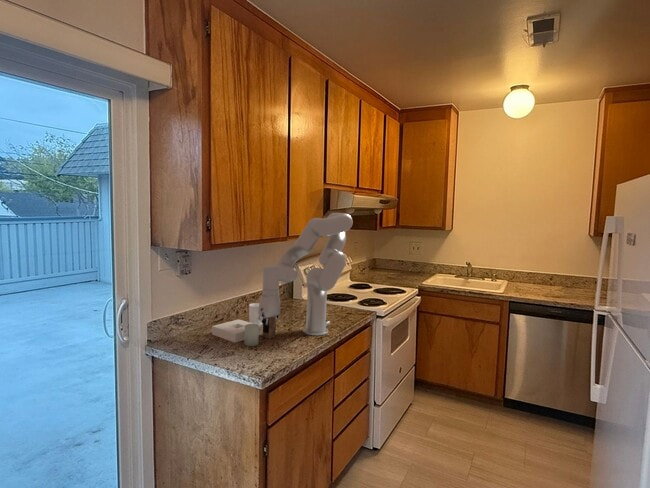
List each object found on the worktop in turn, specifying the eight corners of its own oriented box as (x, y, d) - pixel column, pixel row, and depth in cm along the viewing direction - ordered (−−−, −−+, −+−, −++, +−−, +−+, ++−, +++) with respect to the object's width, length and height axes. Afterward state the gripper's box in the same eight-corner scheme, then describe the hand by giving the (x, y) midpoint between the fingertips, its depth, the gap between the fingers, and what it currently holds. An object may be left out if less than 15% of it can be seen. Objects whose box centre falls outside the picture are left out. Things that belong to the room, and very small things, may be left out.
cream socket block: (238, 327, 192) (238, 319, 192) (261, 334, 183) (261, 326, 183) (212, 334, 180) (212, 326, 179) (235, 342, 170) (235, 333, 170)
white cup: (251, 326, 194) (252, 307, 193) (246, 322, 201) (246, 303, 200) (266, 325, 198) (267, 305, 197) (260, 321, 205) (261, 302, 204)
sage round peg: (251, 340, 174) (252, 323, 173) (261, 343, 171) (261, 325, 170) (241, 343, 169) (241, 325, 169) (250, 347, 166) (251, 328, 165)
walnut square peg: (268, 334, 183) (269, 314, 182) (275, 336, 181) (275, 315, 180) (262, 336, 180) (263, 315, 179) (269, 338, 177) (269, 317, 176)
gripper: (277, 288, 187) (275, 325, 189) (251, 293, 174) (250, 333, 175) (288, 291, 183) (287, 329, 184) (263, 296, 169) (261, 337, 171)
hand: (269, 330), depth 180 cm, fingers closed on walnut square peg, 4 cm apart
